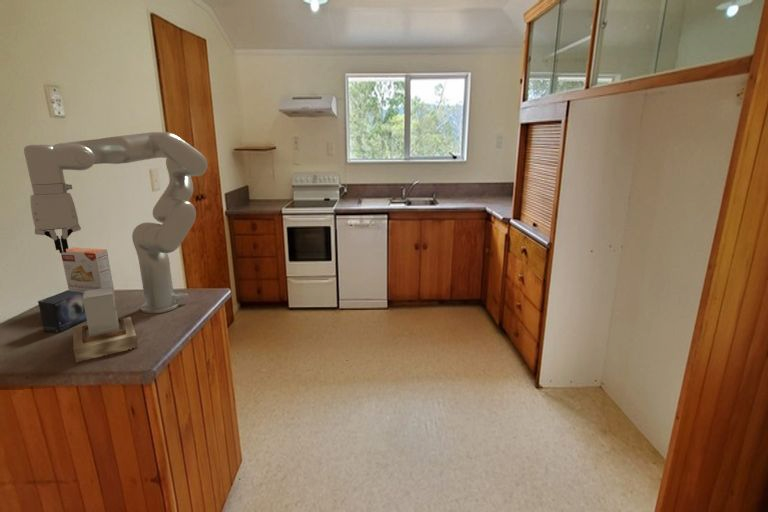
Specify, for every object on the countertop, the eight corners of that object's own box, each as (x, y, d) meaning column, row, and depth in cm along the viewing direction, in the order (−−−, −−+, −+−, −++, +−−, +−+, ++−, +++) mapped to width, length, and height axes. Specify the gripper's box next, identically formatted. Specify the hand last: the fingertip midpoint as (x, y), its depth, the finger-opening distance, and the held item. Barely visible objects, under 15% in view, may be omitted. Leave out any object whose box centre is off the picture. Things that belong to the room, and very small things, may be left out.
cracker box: (70, 305, 153) (59, 250, 147) (83, 299, 159) (73, 246, 153) (104, 307, 151) (94, 252, 145) (116, 301, 157) (107, 248, 151)
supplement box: (119, 333, 123) (112, 293, 119) (89, 339, 119) (81, 298, 116) (119, 324, 129) (113, 286, 125) (91, 329, 125) (83, 290, 122)
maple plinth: (132, 327, 135) (129, 313, 134) (138, 347, 123) (135, 331, 121) (76, 339, 127) (72, 324, 125) (76, 362, 114) (72, 345, 113)
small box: (59, 333, 131) (53, 303, 128) (43, 331, 132) (35, 301, 129) (89, 320, 141) (83, 291, 138) (73, 318, 142) (67, 289, 139)
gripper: (80, 186, 124) (92, 245, 129) (15, 190, 115) (30, 253, 120) (83, 189, 118) (94, 250, 123) (14, 193, 109) (30, 259, 114)
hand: (62, 251), depth 122 cm, fingers closed
